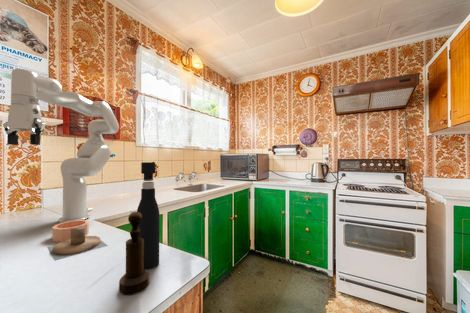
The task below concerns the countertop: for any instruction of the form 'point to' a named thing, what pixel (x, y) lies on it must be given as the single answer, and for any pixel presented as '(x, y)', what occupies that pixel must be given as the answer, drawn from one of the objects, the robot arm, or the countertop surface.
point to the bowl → (68, 229)
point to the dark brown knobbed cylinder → (134, 260)
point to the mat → (57, 257)
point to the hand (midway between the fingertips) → (23, 144)
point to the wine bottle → (149, 218)
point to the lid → (76, 243)
